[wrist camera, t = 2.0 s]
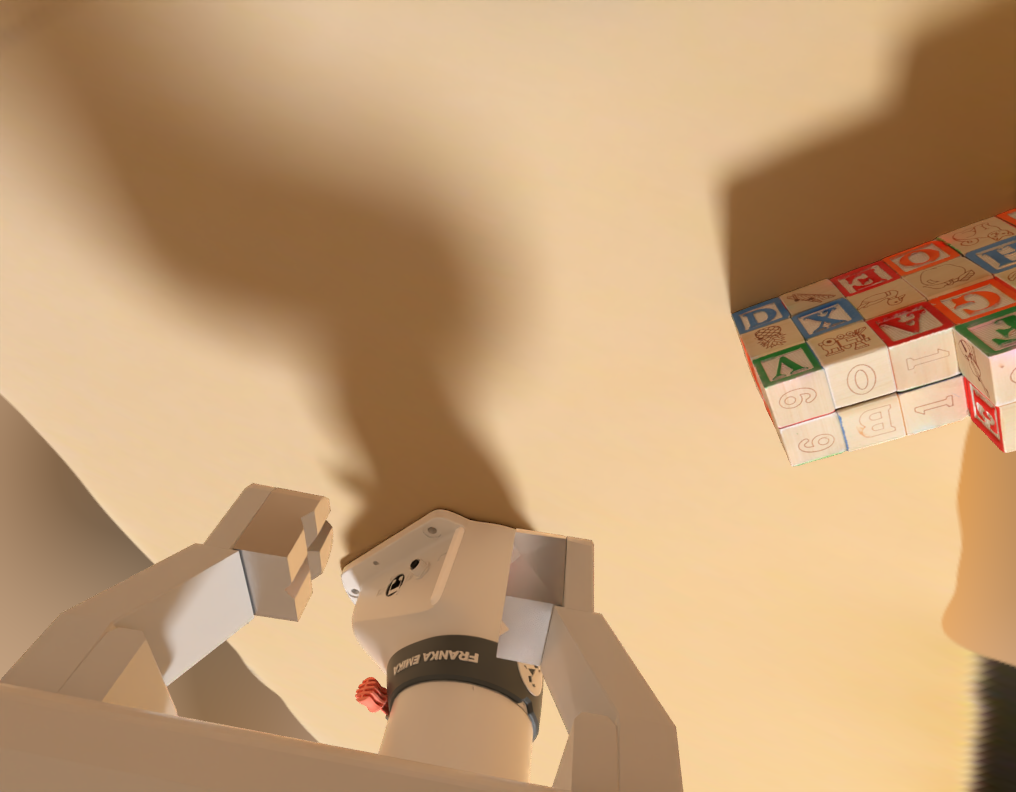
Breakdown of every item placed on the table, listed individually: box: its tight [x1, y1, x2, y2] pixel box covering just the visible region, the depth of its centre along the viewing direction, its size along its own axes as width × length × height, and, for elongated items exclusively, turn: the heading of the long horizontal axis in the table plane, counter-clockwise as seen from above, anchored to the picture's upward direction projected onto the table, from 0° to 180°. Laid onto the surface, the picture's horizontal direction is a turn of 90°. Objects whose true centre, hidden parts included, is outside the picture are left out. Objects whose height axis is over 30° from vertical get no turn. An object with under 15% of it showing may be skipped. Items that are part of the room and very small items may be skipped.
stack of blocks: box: [732, 208, 1016, 466], centre depth 31 cm, size 21×6×12 cm, turn 117°
